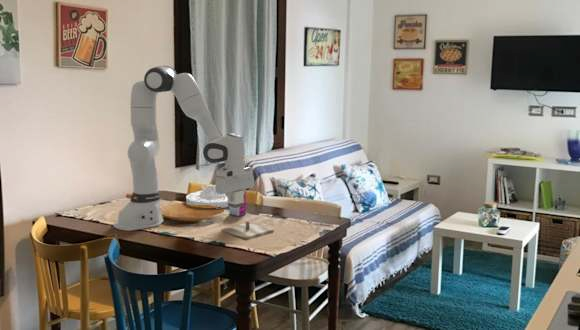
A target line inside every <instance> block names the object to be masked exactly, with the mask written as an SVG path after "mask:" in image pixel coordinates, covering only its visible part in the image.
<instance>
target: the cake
mask: <svg viewBox="0 0 580 330" xmlns="http://www.w3.org/2000/svg"><path fill="white" fill-rule="evenodd" d="M199 185H200V187H201V189H202V190H198V191H195V192H191V193H188V194H187V195H186V197H185V203H186V204H187V203H188V204H194V205H211V206H217V207H221V208H220V209H224V208H229V206H228V198H227V196H226V194H225V193H224V194H219V193H217V192H216V190H215V184H209V185H208V184H206V185H205V187H204V185H203V184H202V183H200V184H199Z"/></svg>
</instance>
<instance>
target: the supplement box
mask: <svg viewBox="0 0 580 330" xmlns="http://www.w3.org/2000/svg"><path fill="white" fill-rule="evenodd" d="M246 195H247V191H245V194H244V206H241V207H237V208H234V207H230V206H229V207H228V209H229V211H228V213H229V214H228V215H229V216H232V217H241V216H244V215H245V216H246V213H247V212H246V209H247V207H246V206H247V205H246V203H247V200H246V199H247V196H246Z"/></svg>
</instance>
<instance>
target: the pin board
mask: <svg viewBox="0 0 580 330" xmlns="http://www.w3.org/2000/svg"><path fill="white" fill-rule="evenodd" d="M274 231H275V229H274V228H271V227H268V226H264V225H259V224H257V223H254V222H249V221H246V222H245V223H240V224H238V225H233V226H229V227H226V228H222V229H221V232H222V233H223V234H227V235H230V236H234V237H237V238H241V239H243V240H250V239H253V238H257V237H260V236H263V235H266V234H267V235H268V234H270V233H272V232H274Z"/></svg>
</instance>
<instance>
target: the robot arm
mask: <svg viewBox="0 0 580 330" xmlns="http://www.w3.org/2000/svg"><path fill="white" fill-rule="evenodd" d="M164 92H171V93H173V94H174V96H175V98H176V100H177V103H178V105H179V106H180V109H181V110H182V112H183V113H184V114H185V116H186V117H188V118H190V119H192V120H194V121H196V122H197V123H198V124H199V125H200V127H201V129H202V131H203V133H204V135H205V137H206V138H207V141H208V143H207V144H206V145H205V146H204V147H203V150H202V154H203V158H204V159H205V160H206V162H208V163H211V164H217V163H222V162H224V166H222V167H220V168H219V169H218V170H216V172H215V175H216V176H217V177H216V178H215V183H214V185H215V190H216V192H217V193H219V194H224V193H225V194H226V196H227V198H228V202H232V201H233V198H232V197H231V196H230V194H231V192H234V191H238V190H243V191H244V194H245V191H246V190H247V189H252V188H254V187H255V177H254V170H253V168H252V167H246V162H245V154H246V153H245V152H246V151H245V150H246V148H245V141H244V137H243V136H242V135H241V134H237V133H233V132H228V133H226V134H225V135H222V133H221V131H220V130H219V128H218V126H217V124H216V122H215V120H214V118H213V115H212V114H211V112H210V110H209V108H208V105H207V101H206V99H205V97H204V94H203V92H202V91H201V89H200V87H199V85H198V83H197V81H196V80H195V79H194V77H193V76H192V74H190V73H188V72H182V73H177V72H176V70H175V69H174V68H172V67H171V66H168V65H157V66H154V67H151V68H149V69H148V70H147V71H146V73H145V74H144V77H143V80H140V81H139V80H138V81H136V82H134V84H133V85H132V87H131V94H130V125H131V127H132V128H131V129H132V132H133V142H131V143H130V144H129V146H128V149H127V158H128V160H129V164H130V169H131V173H132V174H131V175H132V184H133V185H132V186H133V187H132V188H133V192H132V193H131V194H130V193H126V195H125V197H126V199H129V202H128V203H127V204H126V205H125V206H124V207H122V208H121V210H120V211H119V213H118V216H117V221H115V222H113V224H112V226H113V227H114V228H115V229H117V230H121V231H126V232H131V231H136V230H143V229H149V228H153V227H159V226H162V223H163V222H164V218H163V215H162V211H161V205H160V199H161V197H160V189H159V174H158V171H157V167H156V161H155V160H156V159H155V158H156V157H157V156H158V154H159V152H160V141H159V140H160V139H159V138H160V137H159V131H158V126H157V96H158V94H159V93H164ZM246 192H247V191H246Z"/></svg>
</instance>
